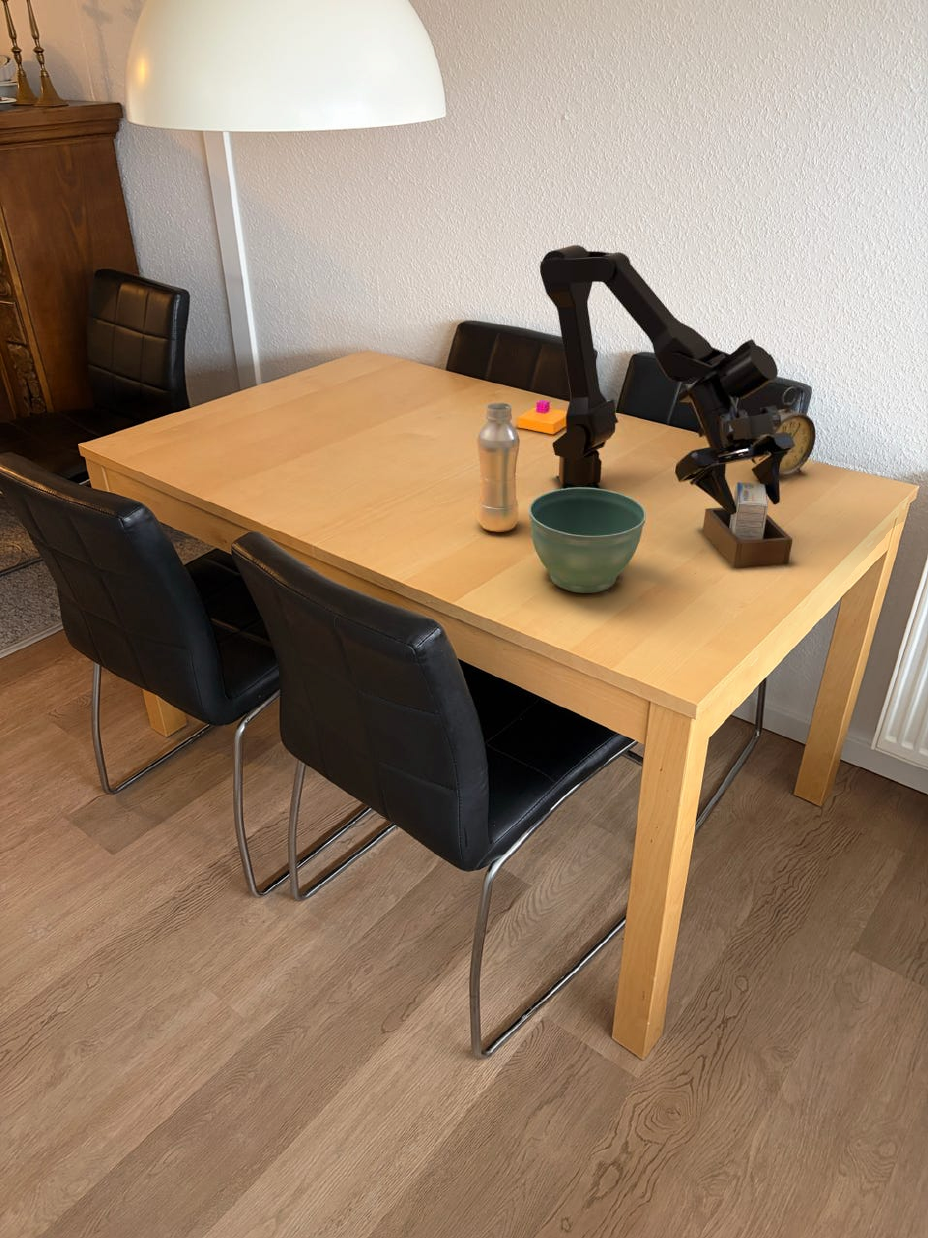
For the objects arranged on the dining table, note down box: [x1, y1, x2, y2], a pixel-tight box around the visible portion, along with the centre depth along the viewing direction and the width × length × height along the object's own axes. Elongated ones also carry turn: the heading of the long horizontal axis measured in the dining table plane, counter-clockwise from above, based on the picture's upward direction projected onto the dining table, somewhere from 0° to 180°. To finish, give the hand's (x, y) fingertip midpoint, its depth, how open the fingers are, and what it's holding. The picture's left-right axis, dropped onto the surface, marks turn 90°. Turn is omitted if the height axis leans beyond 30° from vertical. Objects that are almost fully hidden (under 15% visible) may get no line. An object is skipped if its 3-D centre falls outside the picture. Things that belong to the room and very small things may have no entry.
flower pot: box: [528, 487, 647, 594], centre depth 138 cm, size 16×16×11 cm
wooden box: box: [702, 506, 793, 569], centre depth 149 cm, size 9×13×4 cm
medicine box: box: [729, 482, 769, 541], centre depth 148 cm, size 8×4×9 cm, turn 168°
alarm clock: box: [752, 386, 817, 476], centre depth 170 cm, size 11×5×16 cm, turn 118°
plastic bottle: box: [476, 402, 521, 533], centre depth 151 cm, size 6×7×20 cm
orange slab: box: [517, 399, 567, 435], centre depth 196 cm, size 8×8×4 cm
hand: (755, 508), depth 145 cm, fingers closed on medicine box, 8 cm apart
